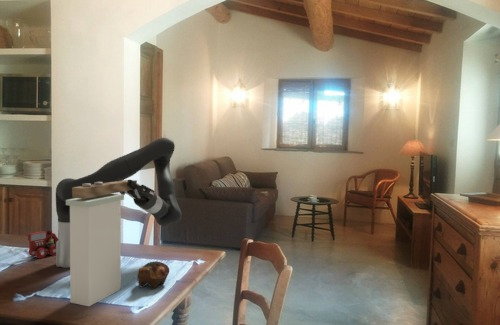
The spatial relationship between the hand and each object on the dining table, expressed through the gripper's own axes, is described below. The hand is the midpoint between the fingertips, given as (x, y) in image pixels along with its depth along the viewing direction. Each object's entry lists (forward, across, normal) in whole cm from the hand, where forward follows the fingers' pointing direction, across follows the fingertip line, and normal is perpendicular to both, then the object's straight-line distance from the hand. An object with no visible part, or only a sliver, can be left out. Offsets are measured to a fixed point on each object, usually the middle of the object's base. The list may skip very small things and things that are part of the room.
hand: (123, 181), depth 130 cm
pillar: (-6, 0, +36) cm, 37 cm away
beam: (+5, 0, +6) cm, 8 cm away
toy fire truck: (-28, -49, +24) cm, 61 cm away
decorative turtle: (-19, +11, +29) cm, 37 cm away
